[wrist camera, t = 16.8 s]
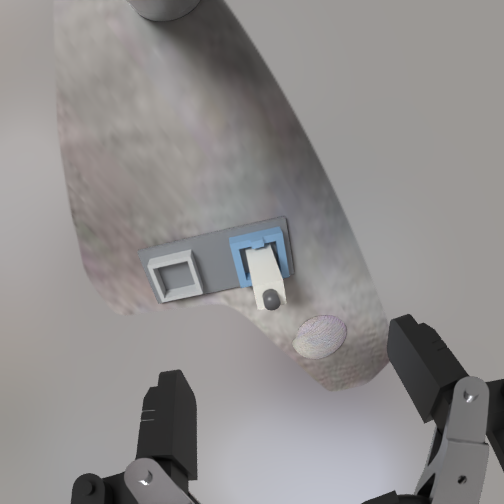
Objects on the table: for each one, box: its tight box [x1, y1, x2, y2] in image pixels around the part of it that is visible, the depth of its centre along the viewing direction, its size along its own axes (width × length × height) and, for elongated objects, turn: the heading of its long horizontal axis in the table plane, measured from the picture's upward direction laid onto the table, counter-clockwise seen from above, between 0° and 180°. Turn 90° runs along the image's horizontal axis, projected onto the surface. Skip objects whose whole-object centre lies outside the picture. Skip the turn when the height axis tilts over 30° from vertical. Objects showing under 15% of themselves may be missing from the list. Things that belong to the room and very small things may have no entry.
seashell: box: [292, 315, 347, 359], centre depth 53 cm, size 10×6×10 cm
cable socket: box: [138, 216, 294, 304], centre depth 44 cm, size 21×9×4 cm, turn 101°
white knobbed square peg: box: [245, 243, 287, 310], centre depth 39 cm, size 3×3×12 cm
